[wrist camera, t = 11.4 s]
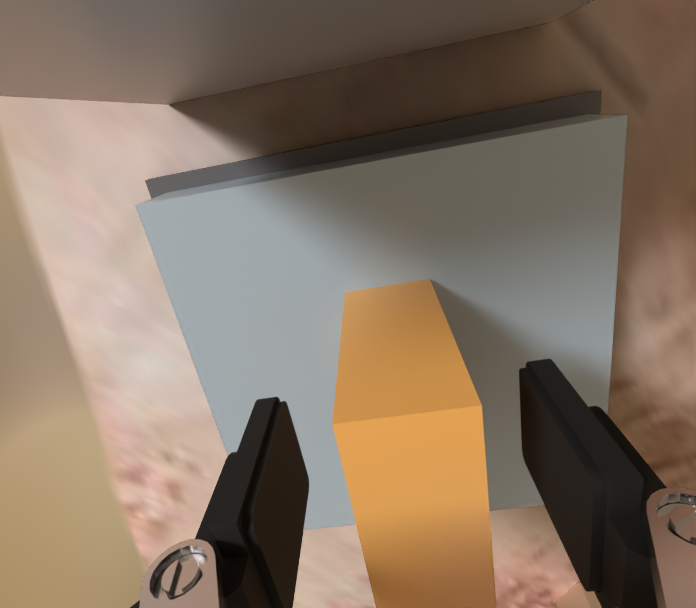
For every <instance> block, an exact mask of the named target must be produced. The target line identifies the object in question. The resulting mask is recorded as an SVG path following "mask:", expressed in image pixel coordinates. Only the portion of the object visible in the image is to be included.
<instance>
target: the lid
mask: <svg viewBox="0 0 696 608" xmlns="http://www.w3.org/2000/svg"><path fill="white" fill-rule="evenodd" d="M627 119H628V114H585V115H580V116H575V117H569V118H564V119H559V120H553V121H548V122H543V123H537V124H532V125H526V126H521V127H516V128H510V129H505V130H500V131H494V132H489V133H484V134H478V135H473V136H467V137H462V138H457V139H451V140H446V141H441V142H435V143H430V144H425V145H419V146H414V147H408V148H403V149H398V150H392V151H387V152H382V153H376V154H371V155H365V156H360V157H355V158H349V159H344V160H339V161H333V162H328V163H323V164H317V165H312V166H306V167H301V168H296V169H290V170H285V171H280V172H274V173H269V174H264V175H258V176H253V177H247V178H242V179H237V180H231V181H226V182H221V183H215V184H210V185H205V186H199V187H194V188H188V189H183V190H178V191H172V192H167V193H165V194H162V195H160V196H157V197H155V198H152V199H150V200H147V201H145V202H142V203H140V204H137V205H135V206H136V208H137V211H138V214H139V216H140V219H141V222H142V225H143V227H144V230H145V233H146V235H147V238H148V241H149V244H150V246H151V249H152V252H153V254H154V257H155V260H156V263H157V265H158V268H159V271H160V273H161V276H162V279H163V282H164V284H165V287H166V290H167V292H168V295H169V298H170V301H171V303H172V306H173V309H174V311H175V314H176V317H177V320H178V322H179V325H180V328H181V330H182V333H183V336H184V339H185V341H186V344H187V347H188V349H189V352H190V355H191V358H192V360H193V363H194V366H195V368H196V371H197V374H198V377H199V379H200V382H201V385H202V387H203V390H204V393H205V396H206V398H207V401H208V404H209V406H210V409H211V412H212V414H213V417H214V420H215V423H216V425H217V428H218V431H219V433H220V436H221V439H222V442H223V444H224V447H225V450H226V452H227V455H229V454H230V453H232V452H237V450H238V447H239V445H240V442H241V439H242V437H243V434H244V431H245V428H246V426H247V423H248V420H249V418H250V415H251V412H252V410H253V407H254V404H255V402H256V400H258V399H264V398H271V397H278V398H279V399H280V402H281V401H286V402H287V405H288V408H289V411H290V415H291V418H292V421H293V425H294V428H295V432H296V435H297V439H298V442H299V446H300V449H301V452H302V456H303V459H304V463H305V466H306V470H307V473H308V477H309V494H308V501H307V508H306V515H305V522H304V529H303V530H308V529H318V528H327V527H337V526H347V525H357V529H358V534H359V538H360V542H361V546H362V550H363V555H364V559H365V563H366V567H367V571H368V575H369V580H370V584H371V588H372V592H373V596H374V600H375V605H376V608H496V596H495V582H494V568H493V554H492V540H491V526H490V512H489V511H492V510H502V509H511V508H521V507H531V506H540V505H544V503H543V501H542V498H541V496H540V494H539V492H538V490H537V488H536V486H535V483H534V481H533V479H532V477H531V475H530V473H529V471H528V468H527V466H526V464H525V461H524V458H523V454H522V440H521V414H520V387H519V369H520V368H526V363H527V362H528V361H535V360H542V359H551V360H552V361H553V362H554V363H555V364H556V366H557V367H558V368H559V369H560V371H561V372H562V373H563V375H564V376H565V377H566V379H567V380H568V381H569V382H570V384H571V385H572V386H573V388H574V389H575V390H576V391H577V393H578V394H579V395H580V397H581V398H582V399H583V400H584V402H585V403H586V404H587V406H588V407H589V406H598V407H600V408H601V409H602V410H603V411H604V412H605V413H606V414H607V415H608V405H609V390H610V375H611V360H612V344H613V329H614V314H615V299H616V284H617V269H618V254H619V239H620V224H621V209H622V194H623V179H624V164H625V149H626V134H627Z"/></svg>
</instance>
